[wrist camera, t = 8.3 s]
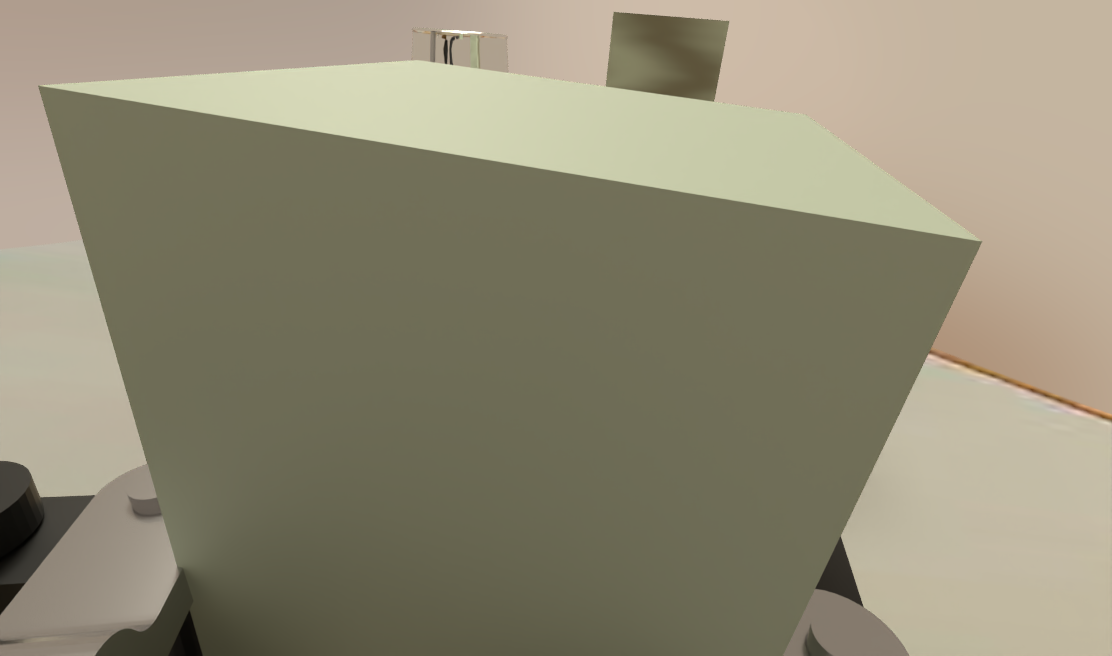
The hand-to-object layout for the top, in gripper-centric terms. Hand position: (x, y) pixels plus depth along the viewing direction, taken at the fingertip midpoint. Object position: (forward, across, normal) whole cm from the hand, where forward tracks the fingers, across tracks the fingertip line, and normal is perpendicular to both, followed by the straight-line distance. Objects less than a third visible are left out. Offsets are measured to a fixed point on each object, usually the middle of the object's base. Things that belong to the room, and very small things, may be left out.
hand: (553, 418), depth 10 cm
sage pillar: (-2, 0, +10) cm, 10 cm away
